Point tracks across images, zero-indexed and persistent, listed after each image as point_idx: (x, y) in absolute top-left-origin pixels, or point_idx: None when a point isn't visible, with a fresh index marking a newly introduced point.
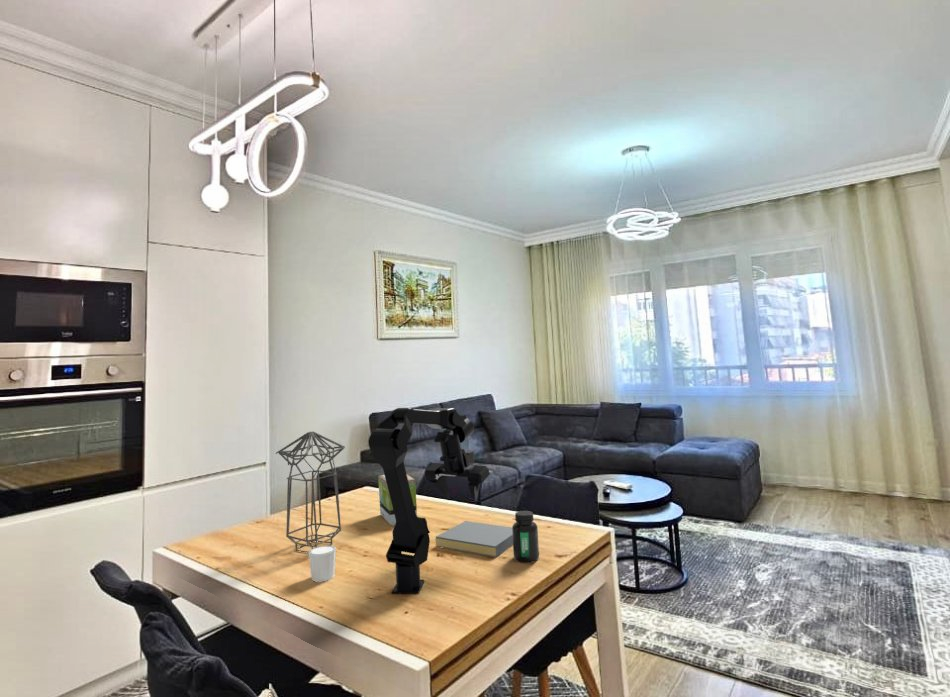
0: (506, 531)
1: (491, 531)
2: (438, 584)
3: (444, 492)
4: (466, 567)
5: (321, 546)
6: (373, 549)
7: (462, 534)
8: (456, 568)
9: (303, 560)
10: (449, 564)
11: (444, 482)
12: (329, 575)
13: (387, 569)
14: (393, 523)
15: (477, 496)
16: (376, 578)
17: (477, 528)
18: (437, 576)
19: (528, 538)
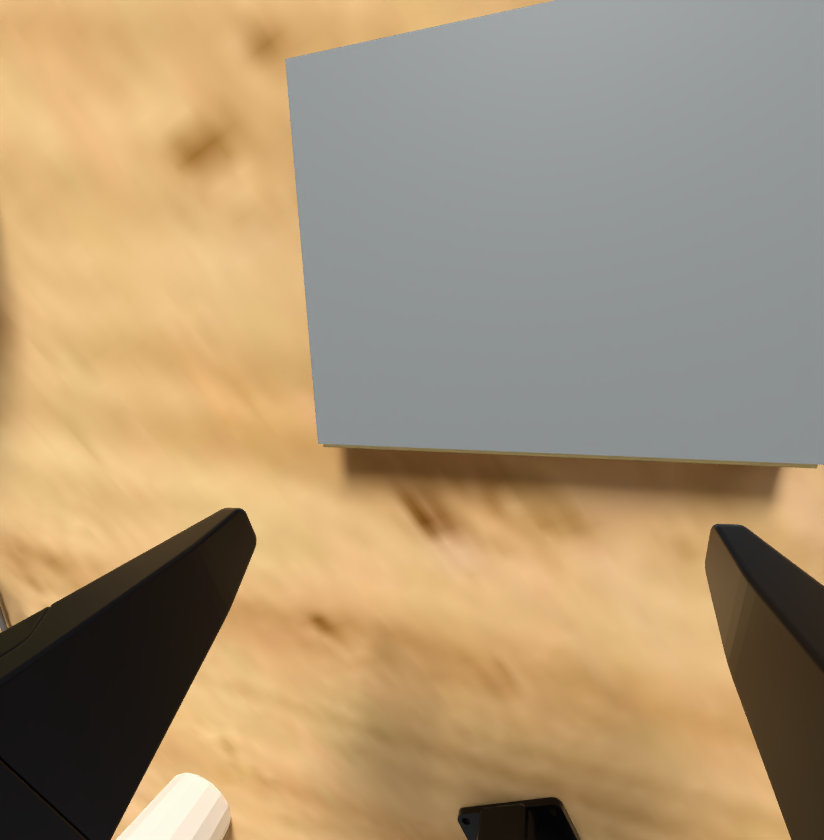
0: (773, 98)
1: (629, 175)
2: (634, 804)
3: (191, 669)
4: (666, 618)
5: None
6: (134, 554)
7: (447, 343)
8: (618, 641)
9: None
10: (553, 607)
11: (13, 766)
12: (221, 834)
13: (332, 713)
14: None
15: (799, 577)
16: (356, 787)
17: (476, 171)
18: (579, 736)
19: None
